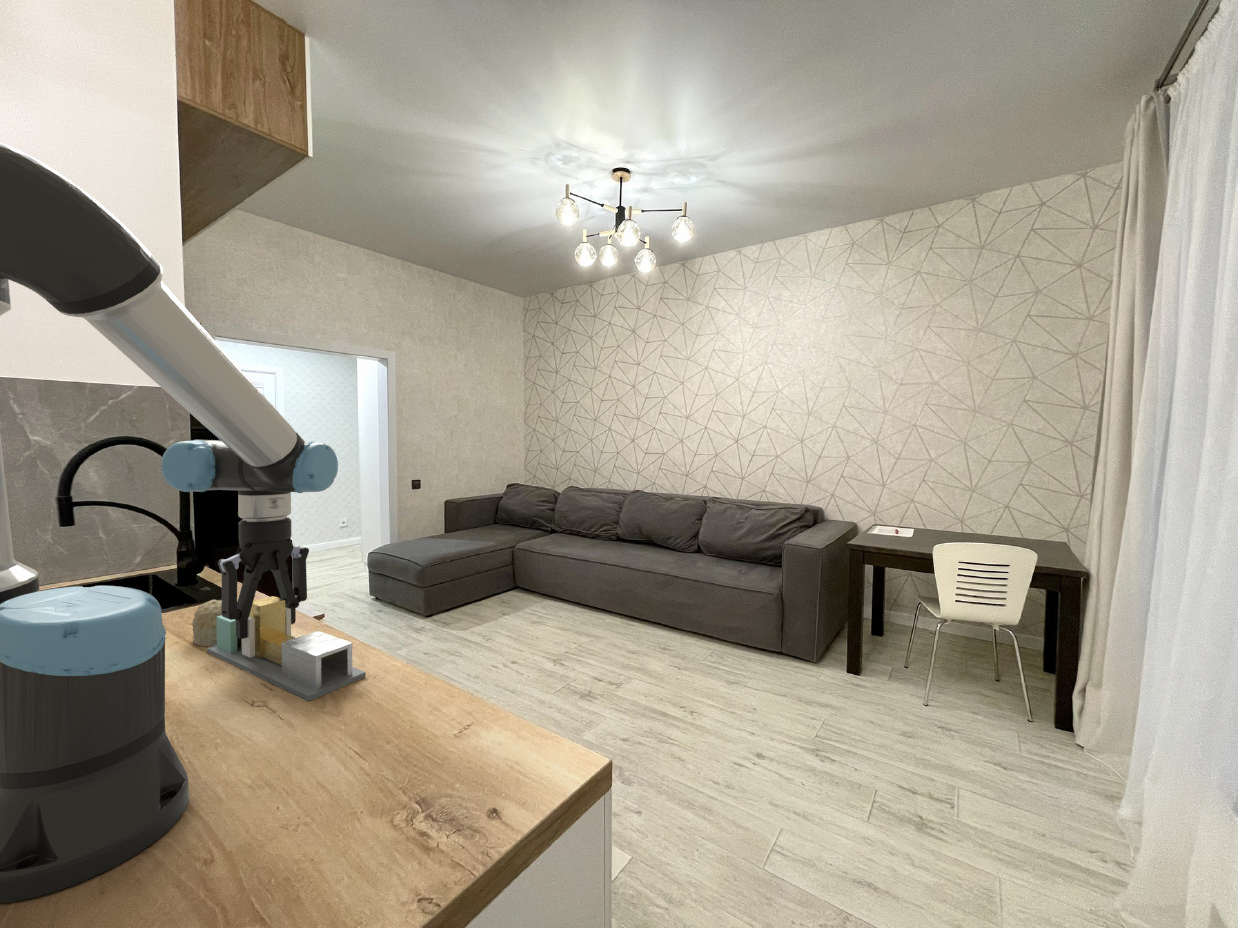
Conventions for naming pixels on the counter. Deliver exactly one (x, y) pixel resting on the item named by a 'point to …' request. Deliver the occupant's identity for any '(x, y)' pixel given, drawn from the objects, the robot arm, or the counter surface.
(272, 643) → the gold stepped block
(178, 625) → the counter surface
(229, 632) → the socket
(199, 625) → the sponge
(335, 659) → the grey rectangular sleeve
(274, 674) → the slate board
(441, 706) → the counter surface
